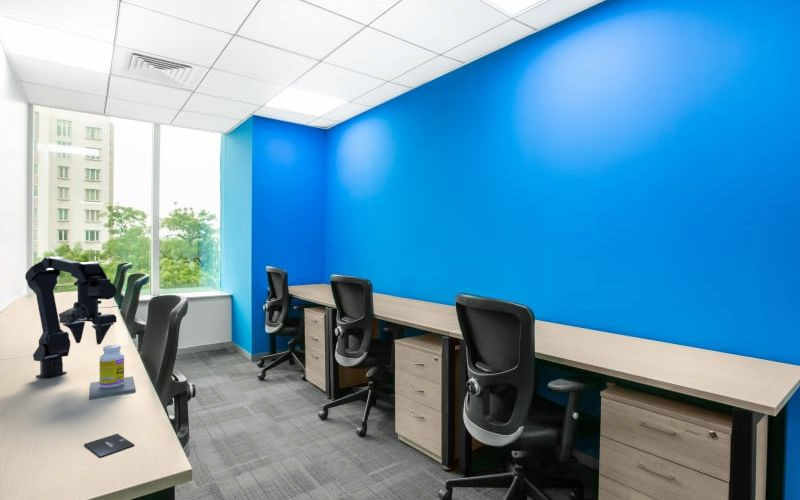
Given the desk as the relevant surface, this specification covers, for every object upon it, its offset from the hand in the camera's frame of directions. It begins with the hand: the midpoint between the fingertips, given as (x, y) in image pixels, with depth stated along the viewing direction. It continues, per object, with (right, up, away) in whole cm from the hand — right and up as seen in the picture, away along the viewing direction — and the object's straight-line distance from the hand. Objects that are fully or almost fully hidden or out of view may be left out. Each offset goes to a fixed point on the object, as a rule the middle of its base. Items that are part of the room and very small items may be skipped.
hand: (88, 343), depth 145 cm
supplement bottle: (+13, -12, -8) cm, 20 cm away
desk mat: (+13, -13, -8) cm, 20 cm away
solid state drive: (+40, -14, -47) cm, 63 cm away
